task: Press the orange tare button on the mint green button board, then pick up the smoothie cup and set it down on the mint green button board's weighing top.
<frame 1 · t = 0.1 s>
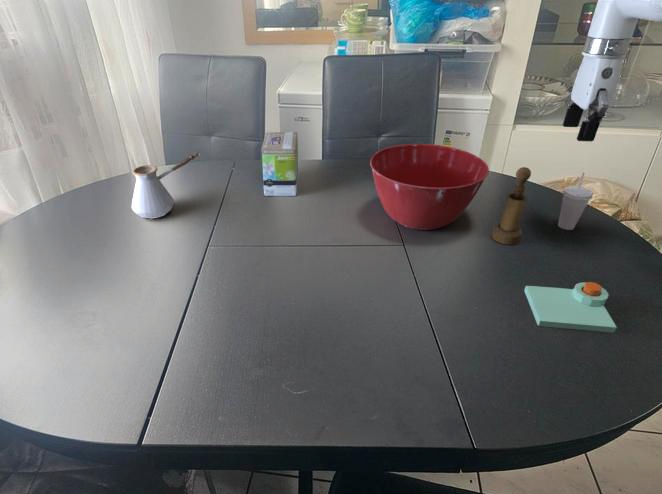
hand: (577, 133, 98), 24 cm above the table, tool pointing down, fingers open, 9 cm apart
mixing bowl: (420, 218, 119), on the table
mint green button board: (566, 310, 87), on the table
coffee pot: (172, 209, 127), on the table
smoothie: (565, 226, 113), on the table
tea box: (282, 186, 138), on the table
tare button: (592, 289, 86), point 3 cm above the table, slide at 0.1 cm
mortar and pestle: (505, 238, 109), on the table
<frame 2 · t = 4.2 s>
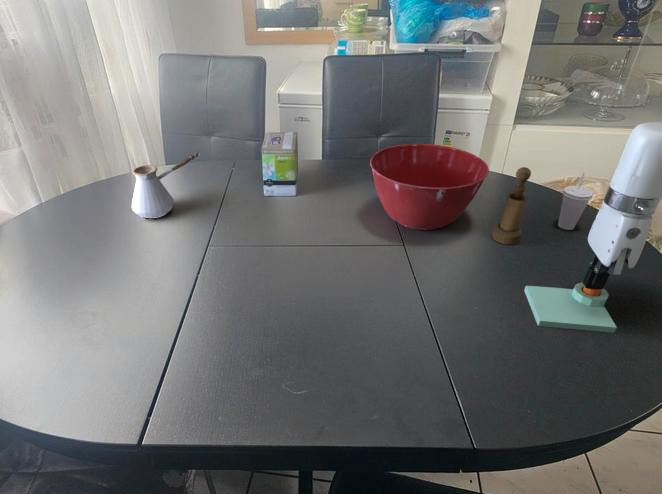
hand: (592, 286, 86), 4 cm above the table, tool pointing down, fingers closed
tare button: (591, 289, 86), point 3 cm above the table, slide at 0.0 cm, touching gripper
everything else where it was.
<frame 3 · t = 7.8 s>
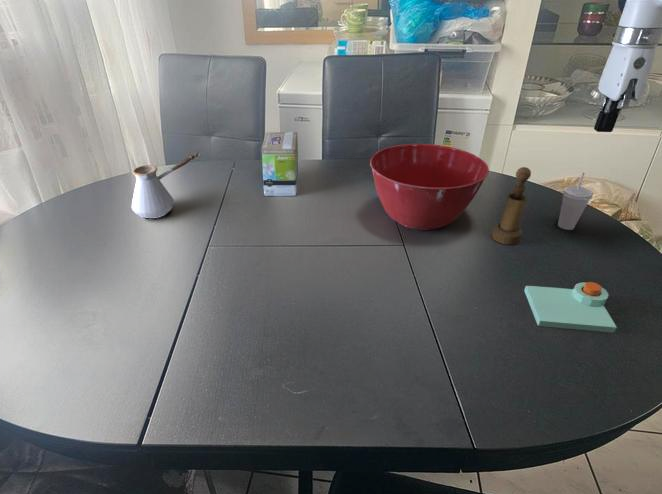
hand: (602, 130, 98), 25 cm above the table, tool pointing down, fingers closed
tare button: (592, 289, 86), point 3 cm above the table, slide at 0.1 cm
everything else where it was.
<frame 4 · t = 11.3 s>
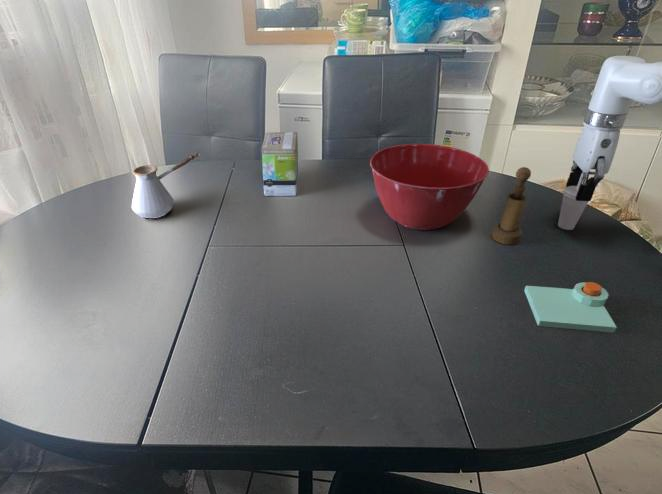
hand: (577, 193, 108), 9 cm above the table, tool pointing down, fingers closed on smoothie, 6 cm apart
smoothie: (565, 226, 113), on the table, touching gripper
everything else where it was.
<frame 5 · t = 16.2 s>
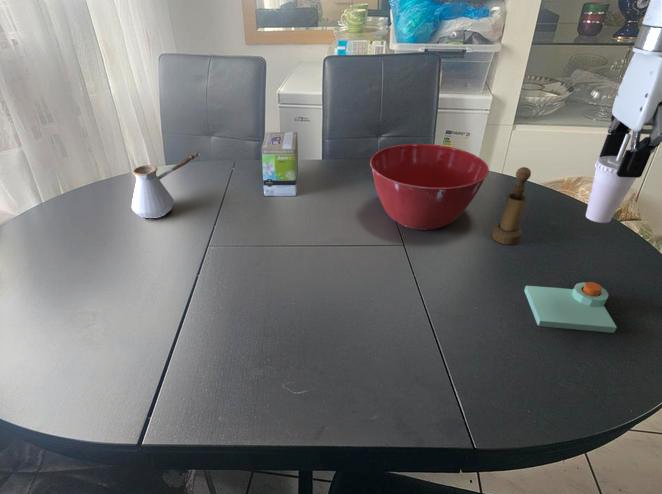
hand: (619, 166, 70), 29 cm above the table, tool pointing down, fingers closed on smoothie, 6 cm apart
smoothie: (597, 218, 75), point 20 cm above the table, touching gripper
everything else where it was.
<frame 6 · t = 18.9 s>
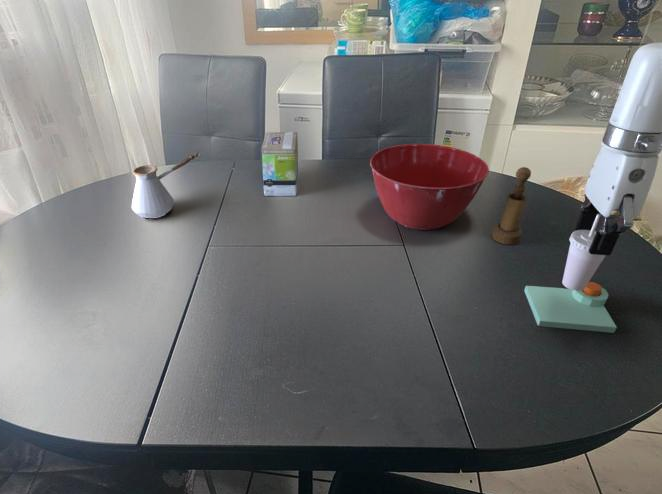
hand: (591, 241, 76), 17 cm above the table, tool pointing down, fingers closed on smoothie, 6 cm apart
smoothie: (573, 285, 81), point 7 cm above the table, touching gripper
everything else where it was.
when the fingers open (10 cm above the table, at t = 21.1 s): smoothie stays where it is, resting on mint green button board.
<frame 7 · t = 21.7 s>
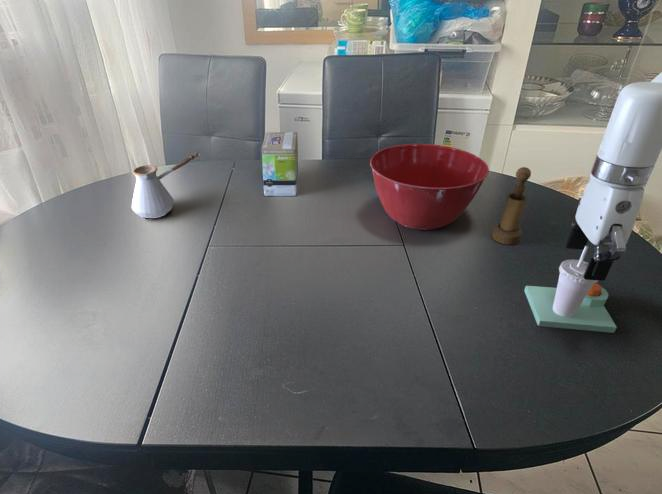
hand: (583, 262, 78), 12 cm above the table, tool pointing down, fingers open, 9 cm apart
smoothie: (563, 311, 84), point 1 cm above the table, touching mint green button board
everything else where it was.
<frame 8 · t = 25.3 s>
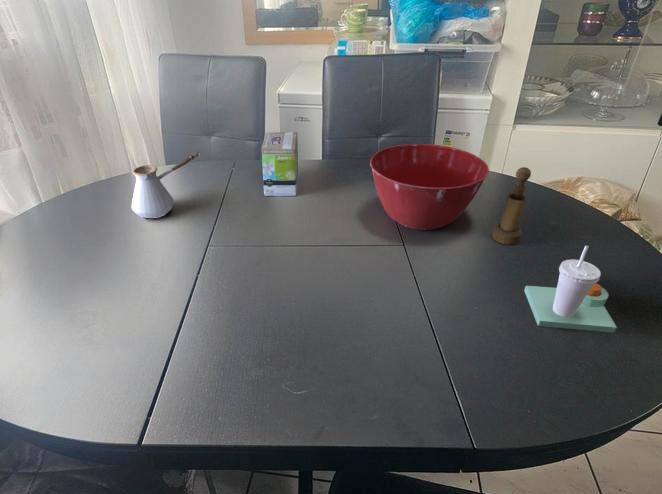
nothing on the table moved.
at the end: tare button pushed in 0.9 cm at the most during the clip, back to where it started at the end; smoothie inside the target area on the mint green button board (0.0 cm from its centre), point 1.2 cm above the mint green button board's base; smoothie touching mint green button board; smoothie tilted 0° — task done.
